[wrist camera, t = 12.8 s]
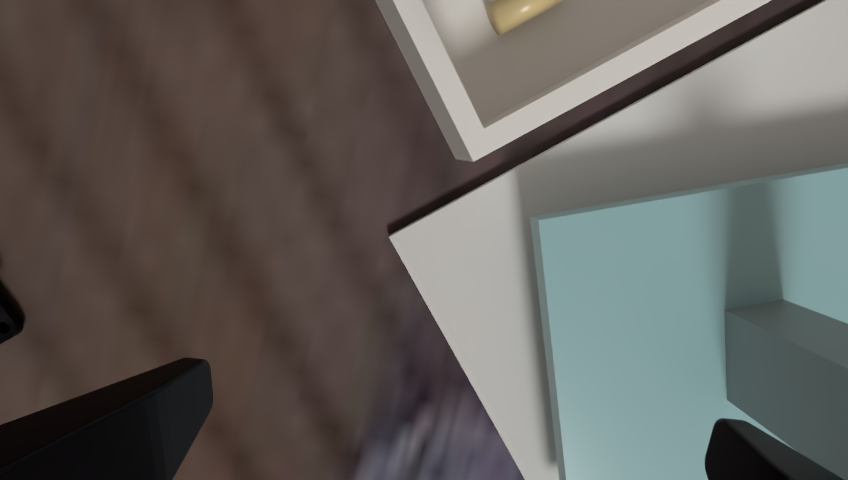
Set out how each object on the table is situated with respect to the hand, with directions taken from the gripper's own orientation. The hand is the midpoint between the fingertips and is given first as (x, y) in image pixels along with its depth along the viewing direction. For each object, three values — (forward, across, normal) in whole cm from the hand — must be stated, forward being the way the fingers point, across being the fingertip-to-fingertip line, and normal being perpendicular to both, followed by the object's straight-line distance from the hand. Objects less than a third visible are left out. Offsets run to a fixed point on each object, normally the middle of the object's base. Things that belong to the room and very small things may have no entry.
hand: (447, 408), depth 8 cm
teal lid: (+14, -12, +4) cm, 19 cm away
